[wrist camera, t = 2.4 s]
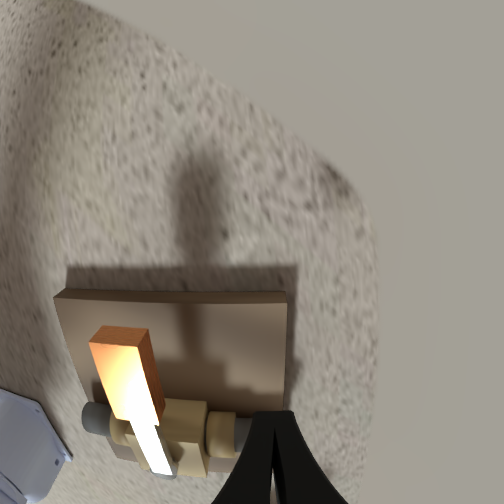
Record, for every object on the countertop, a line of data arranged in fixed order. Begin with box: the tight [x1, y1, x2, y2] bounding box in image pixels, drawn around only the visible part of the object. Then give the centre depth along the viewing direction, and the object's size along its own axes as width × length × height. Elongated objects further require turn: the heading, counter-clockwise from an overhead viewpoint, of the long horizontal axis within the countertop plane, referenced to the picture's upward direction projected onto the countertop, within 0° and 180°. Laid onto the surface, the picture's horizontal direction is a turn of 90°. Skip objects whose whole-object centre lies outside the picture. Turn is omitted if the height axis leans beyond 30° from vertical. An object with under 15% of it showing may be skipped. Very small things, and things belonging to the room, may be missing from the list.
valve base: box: [53, 288, 287, 478], centre depth 17 cm, size 16×14×5 cm
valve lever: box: [89, 325, 179, 480], centre depth 13 cm, size 10×2×1 cm, turn 1°
